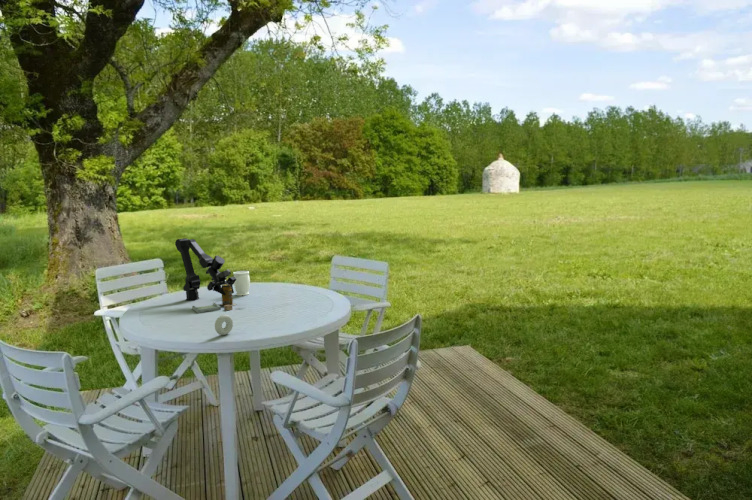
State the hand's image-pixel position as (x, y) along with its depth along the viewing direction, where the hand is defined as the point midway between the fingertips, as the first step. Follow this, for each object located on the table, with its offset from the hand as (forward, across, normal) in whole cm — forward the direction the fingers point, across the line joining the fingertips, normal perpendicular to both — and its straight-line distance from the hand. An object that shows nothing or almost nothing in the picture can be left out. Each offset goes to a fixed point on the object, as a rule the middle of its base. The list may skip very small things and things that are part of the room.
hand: (229, 294), depth 333 cm
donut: (+39, -46, -29) cm, 67 cm away
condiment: (+4, 0, +6) cm, 7 cm away
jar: (-6, +25, +16) cm, 31 cm away
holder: (+2, -14, +8) cm, 16 cm away
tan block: (+11, -9, -1) cm, 14 cm away
